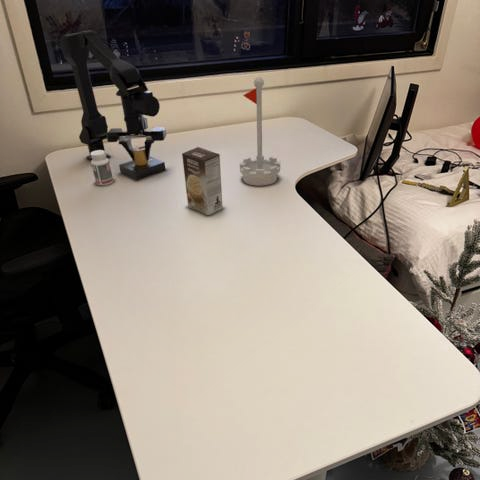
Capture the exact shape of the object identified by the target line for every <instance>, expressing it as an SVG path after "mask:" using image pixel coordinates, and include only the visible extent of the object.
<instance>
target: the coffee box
mask: <svg viewBox="0 0 480 480" xmlns="http://www.w3.org/2000/svg"><path fill="white" fill-rule="evenodd" d="M181 156H182V166H183V174H184V182H185V184H184V185H185V191H186V192H185V193H186V201H187V207H188V208H189V209H192V210H194V211H195V212H199V213H201V214H204V215H206V216H210V215H213V214H214V213H217V212H218V211H220V210H223V207H224V206H223V191H222V190H223V189H222V174H221V173H222V172H221V154H220V153H217V152H214V151H211V150H208V149H205V148H202V147H200V146H196V147H194V148H192V149H189V150H187V151H184V152H182V153H181Z"/></svg>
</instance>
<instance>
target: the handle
mask: <svg viewBox="0 0 480 480" xmlns="http://www.w3.org/2000/svg"><path fill="white" fill-rule="evenodd" d="M132 148H133V155H134V160H135V164H136V165H139V166H141V165H146V164H148V161H147V158H146V151H145V145H142V146H141V145H138V146H135V147H132Z"/></svg>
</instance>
